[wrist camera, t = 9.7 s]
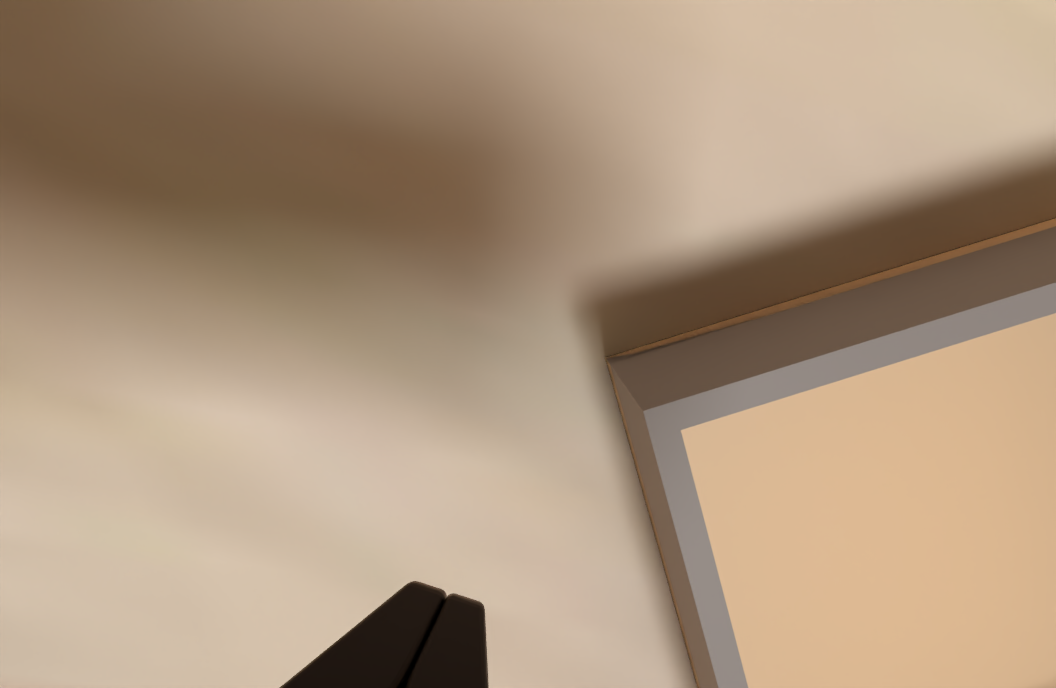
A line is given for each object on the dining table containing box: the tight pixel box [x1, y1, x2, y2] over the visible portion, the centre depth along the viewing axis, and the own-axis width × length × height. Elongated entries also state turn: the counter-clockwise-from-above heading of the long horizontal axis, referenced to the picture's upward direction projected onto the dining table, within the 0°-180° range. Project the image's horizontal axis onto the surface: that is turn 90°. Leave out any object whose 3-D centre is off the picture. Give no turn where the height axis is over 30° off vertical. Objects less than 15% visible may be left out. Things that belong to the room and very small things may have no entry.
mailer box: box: [605, 218, 1056, 688], centre depth 21 cm, size 12×14×4 cm
